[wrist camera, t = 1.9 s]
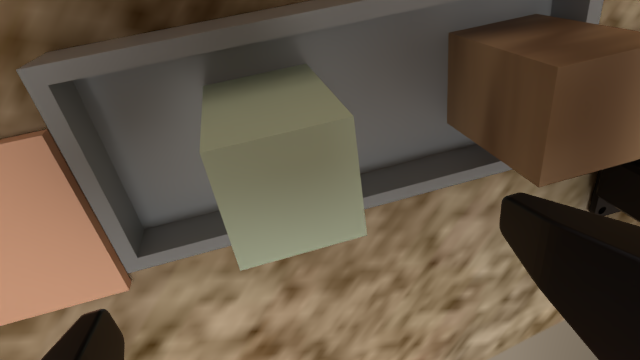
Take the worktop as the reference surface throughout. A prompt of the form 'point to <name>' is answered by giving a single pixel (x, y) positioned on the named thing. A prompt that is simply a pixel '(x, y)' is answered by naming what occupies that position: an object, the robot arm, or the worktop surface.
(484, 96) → the walnut block
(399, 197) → the bin
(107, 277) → the coaster
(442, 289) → the worktop surface
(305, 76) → the sage block
